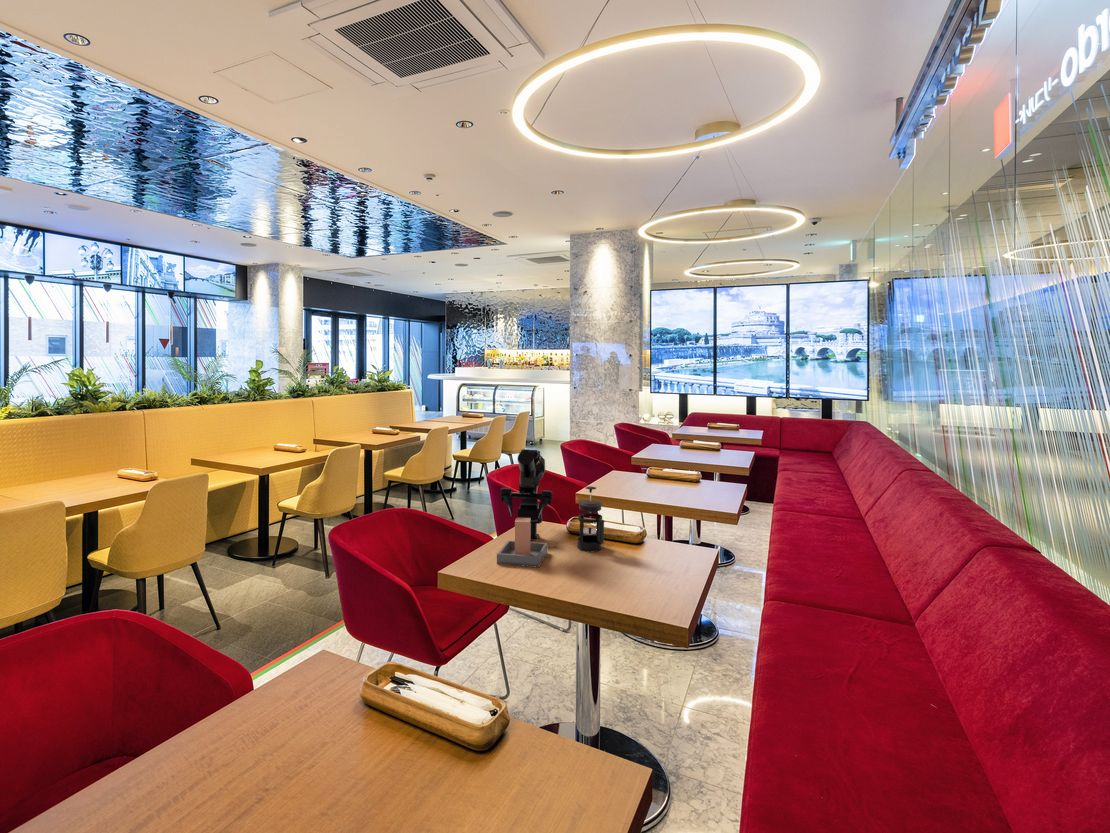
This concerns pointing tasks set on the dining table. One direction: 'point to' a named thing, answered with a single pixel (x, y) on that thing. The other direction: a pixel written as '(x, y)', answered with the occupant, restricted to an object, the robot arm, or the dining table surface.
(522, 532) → the terracotta block
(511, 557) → the tray
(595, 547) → the french press
